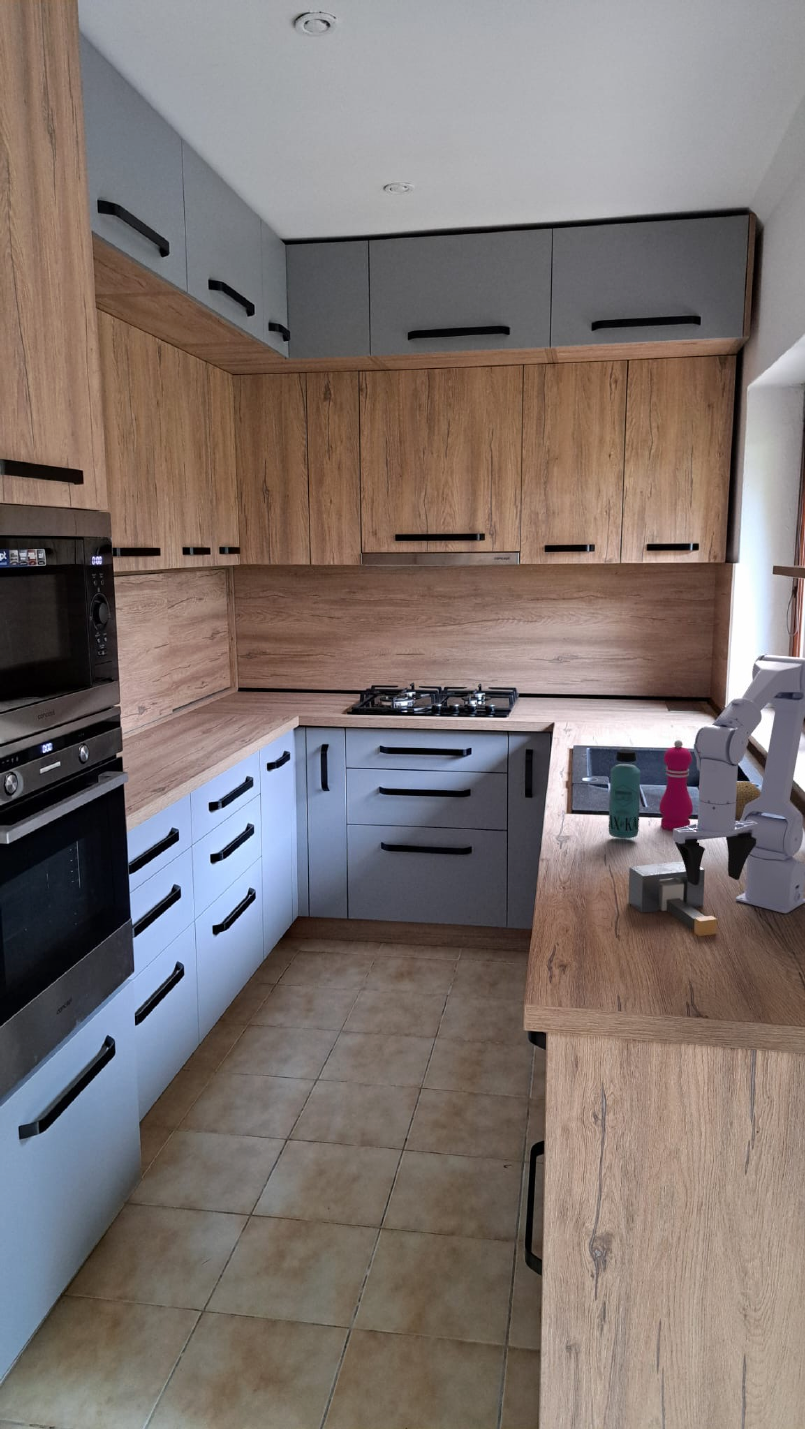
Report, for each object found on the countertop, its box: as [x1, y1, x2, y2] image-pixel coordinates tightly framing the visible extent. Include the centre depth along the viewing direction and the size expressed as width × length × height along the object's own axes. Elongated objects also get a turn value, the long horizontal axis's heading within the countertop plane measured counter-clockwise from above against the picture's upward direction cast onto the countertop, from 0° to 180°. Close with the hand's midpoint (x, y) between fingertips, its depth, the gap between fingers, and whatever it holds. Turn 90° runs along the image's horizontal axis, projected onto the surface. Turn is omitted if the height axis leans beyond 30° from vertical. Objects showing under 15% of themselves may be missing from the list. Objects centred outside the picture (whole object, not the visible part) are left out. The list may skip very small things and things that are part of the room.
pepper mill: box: [659, 739, 694, 832], centre depth 219 cm, size 7×7×20 cm
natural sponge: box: [735, 780, 763, 821], centre depth 221 cm, size 9×9×10 cm
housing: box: [628, 860, 706, 914], centre depth 175 cm, size 5×12×7 cm, turn 104°
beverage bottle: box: [607, 748, 641, 839], centre depth 210 cm, size 6×7×20 cm
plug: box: [659, 878, 718, 937], centre depth 169 cm, size 16×4×4 cm, turn 14°
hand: (713, 880), depth 160 cm, fingers open, 7 cm apart
